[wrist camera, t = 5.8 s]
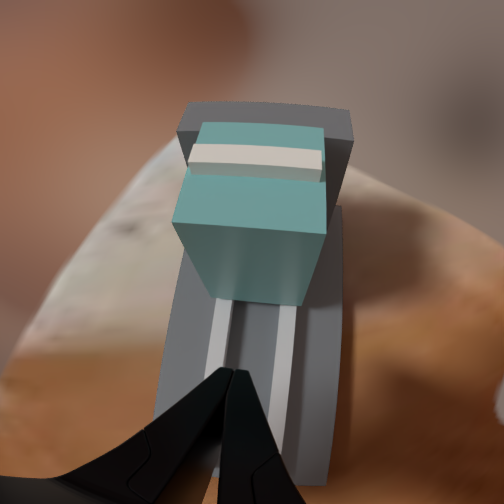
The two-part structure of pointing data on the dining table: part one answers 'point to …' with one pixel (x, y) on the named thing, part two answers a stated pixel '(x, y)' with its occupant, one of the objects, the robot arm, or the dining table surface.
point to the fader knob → (254, 210)
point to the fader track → (269, 312)
